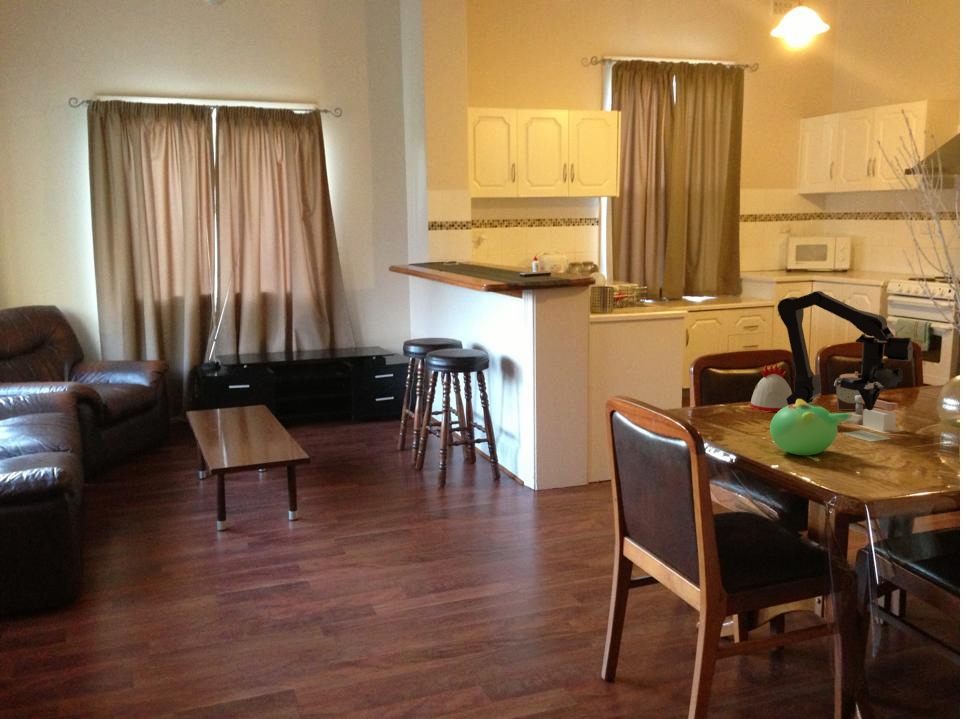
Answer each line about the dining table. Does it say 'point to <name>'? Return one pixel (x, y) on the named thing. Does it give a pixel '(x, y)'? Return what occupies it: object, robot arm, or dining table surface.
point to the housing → (858, 419)
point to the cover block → (879, 419)
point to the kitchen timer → (771, 391)
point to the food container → (846, 397)
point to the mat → (866, 435)
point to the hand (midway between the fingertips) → (869, 410)
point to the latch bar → (879, 403)
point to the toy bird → (805, 428)
